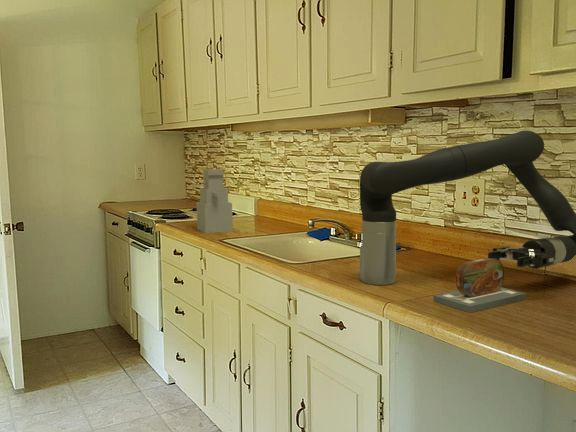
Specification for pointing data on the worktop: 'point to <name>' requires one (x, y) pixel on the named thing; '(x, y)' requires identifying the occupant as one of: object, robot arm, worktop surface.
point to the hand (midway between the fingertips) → (503, 259)
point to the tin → (480, 277)
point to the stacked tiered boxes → (214, 204)
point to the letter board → (479, 299)
